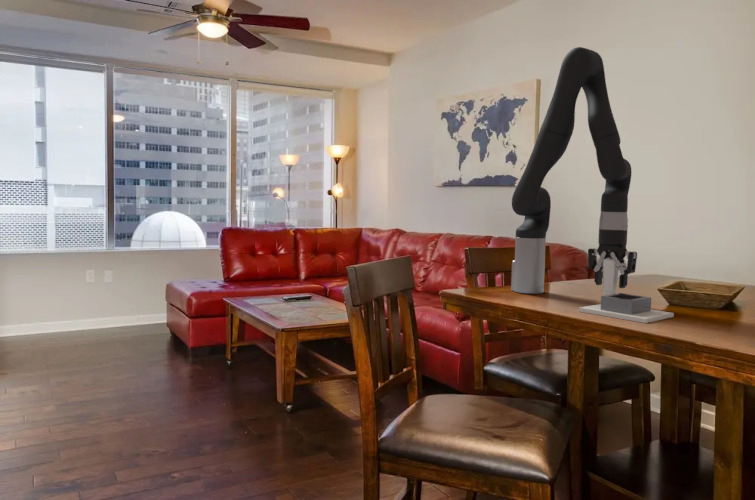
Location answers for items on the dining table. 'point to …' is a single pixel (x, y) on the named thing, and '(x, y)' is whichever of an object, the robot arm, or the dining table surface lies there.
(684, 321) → the dining table surface
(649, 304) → the socket collar
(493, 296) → the dining table surface
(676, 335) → the dining table surface
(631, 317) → the stand board
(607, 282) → the perfume bottle
